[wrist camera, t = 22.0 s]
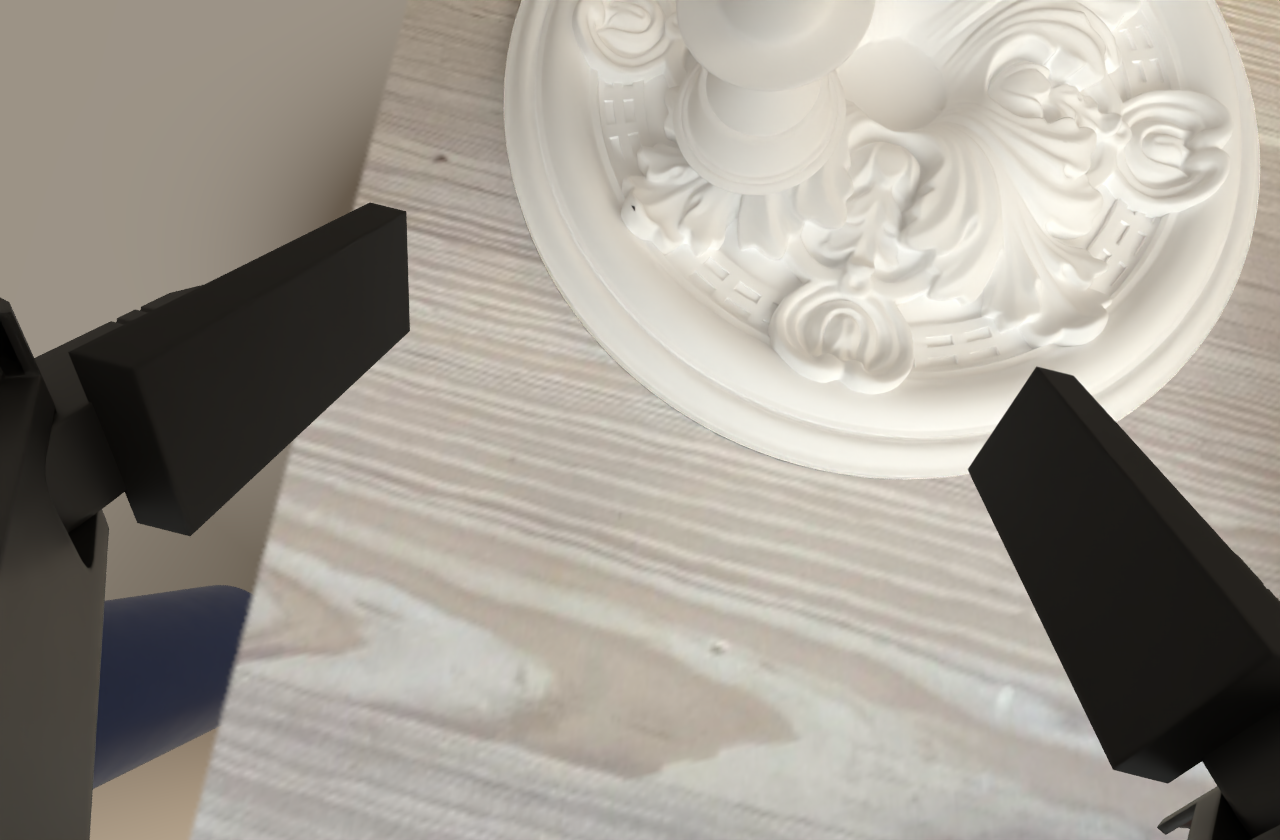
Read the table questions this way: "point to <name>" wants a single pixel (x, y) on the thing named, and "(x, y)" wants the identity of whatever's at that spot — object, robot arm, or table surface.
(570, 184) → the ceiling medallion
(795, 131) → the candle
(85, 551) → the robot arm
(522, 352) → the table surface
